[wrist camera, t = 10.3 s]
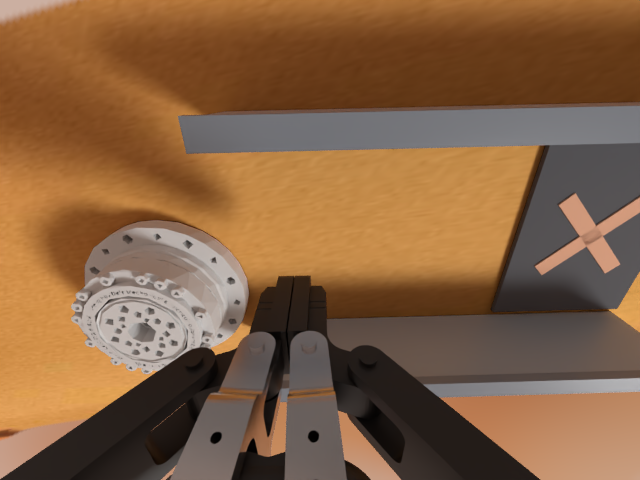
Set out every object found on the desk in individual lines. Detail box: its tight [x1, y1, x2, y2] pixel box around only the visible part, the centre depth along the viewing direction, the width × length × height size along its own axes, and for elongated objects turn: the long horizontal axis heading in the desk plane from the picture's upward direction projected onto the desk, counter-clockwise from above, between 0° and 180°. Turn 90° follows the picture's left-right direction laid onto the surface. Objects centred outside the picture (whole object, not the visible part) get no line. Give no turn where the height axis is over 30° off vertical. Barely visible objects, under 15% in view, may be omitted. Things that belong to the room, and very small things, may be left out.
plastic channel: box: [178, 102, 640, 402], centre depth 15 cm, size 26×15×6 cm, turn 91°
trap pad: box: [491, 143, 640, 312], centre depth 18 cm, size 9×12×1 cm
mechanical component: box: [71, 220, 249, 374], centre depth 17 cm, size 10×4×10 cm
